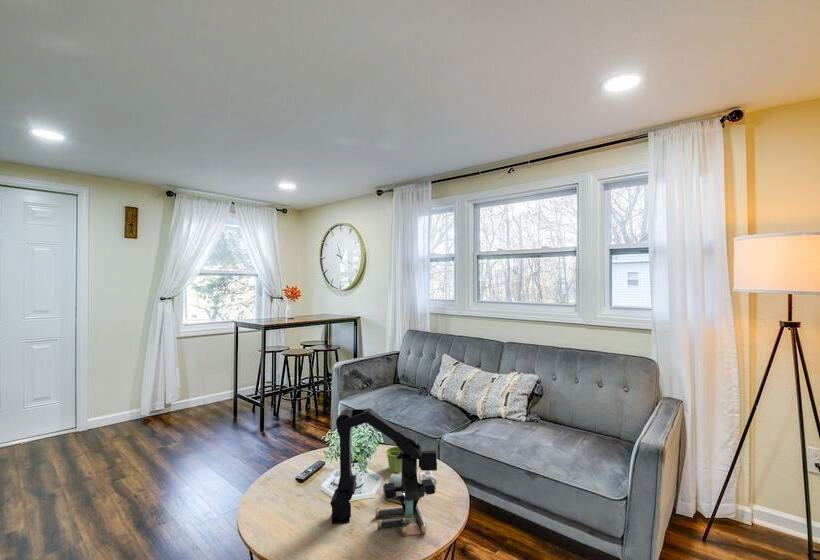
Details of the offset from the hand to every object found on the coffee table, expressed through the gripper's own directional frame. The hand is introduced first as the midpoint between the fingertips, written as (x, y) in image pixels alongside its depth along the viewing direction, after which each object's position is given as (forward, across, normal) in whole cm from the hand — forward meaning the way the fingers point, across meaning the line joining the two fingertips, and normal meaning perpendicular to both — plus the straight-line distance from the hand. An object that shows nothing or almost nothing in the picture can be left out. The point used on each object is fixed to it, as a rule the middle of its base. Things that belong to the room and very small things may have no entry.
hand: (408, 511), depth 144 cm
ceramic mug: (+3, 0, +19) cm, 19 cm away
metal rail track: (+3, -4, -2) cm, 6 cm away
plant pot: (+3, +1, +38) cm, 38 cm away
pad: (+3, 0, -6) cm, 7 cm away
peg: (+2, 0, 0) cm, 2 cm away
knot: (+3, +12, +22) cm, 25 cm away
